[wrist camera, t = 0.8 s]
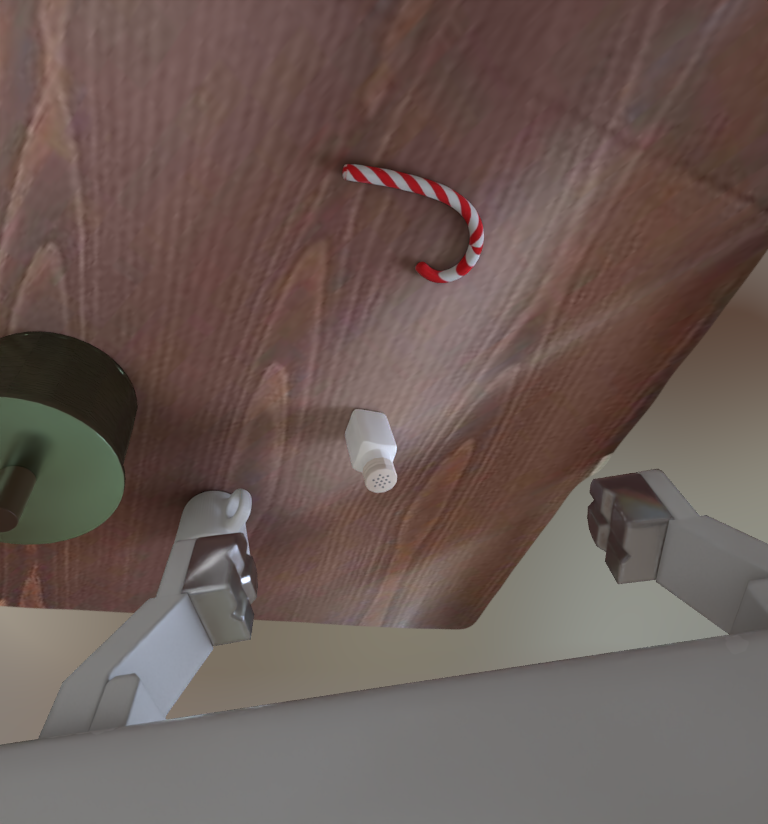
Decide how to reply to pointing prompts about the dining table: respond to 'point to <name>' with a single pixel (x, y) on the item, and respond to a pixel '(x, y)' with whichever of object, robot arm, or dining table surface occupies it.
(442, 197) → the candy cane
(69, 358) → the tin
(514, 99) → the dining table surface
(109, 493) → the tin lid
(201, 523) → the cup
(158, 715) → the robot arm
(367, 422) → the pepper shaker
